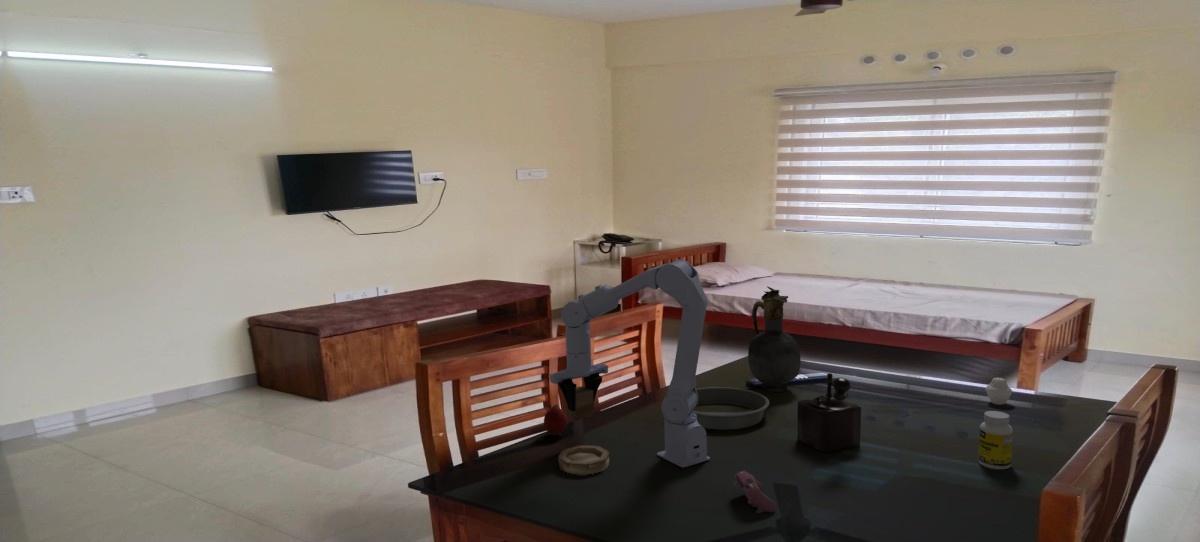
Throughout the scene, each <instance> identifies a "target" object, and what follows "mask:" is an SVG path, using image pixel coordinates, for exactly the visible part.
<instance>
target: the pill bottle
mask: <svg viewBox="0 0 1200 542" xmlns="http://www.w3.org/2000/svg"><path fill="white" fill-rule="evenodd" d="M983 415H984V416H983V420H984V421H983V422H981V424H980V425H979V438H978V462H979V464H980V465H981V466H983V467H985V468H988V469H991V470H999V471H1000V470H1006V469H1009V468H1011V467H1012V461H1013V460H1012V457H1013V440H1014V439H1013V438H1014V436H1013V435H1014V429H1013V427H1012V426H1011V425H1010V424H1009V423H1010V415H1009V414H1008V413H1006V412H1003V411H999V410H998V411H997V410H987V411H985V412H984V414H983Z"/></svg>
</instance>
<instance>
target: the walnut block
mask: <svg viewBox="0 0 1200 542" xmlns="http://www.w3.org/2000/svg"><path fill="white" fill-rule="evenodd" d="M594 405H595V401H594V402H593V390H591V389H589V388H587V387H585V385H584V386H583V385H581V386H576V391H575V411H571V410H569V409H568V406H567V405H566V406H567V407H566V408H567V415H568V416H570V417H572V418H574V419H576V420H579V419H582V418H587V417H588V418H589V417H592V416H595V407H594Z"/></svg>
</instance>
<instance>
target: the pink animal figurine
mask: <svg viewBox="0 0 1200 542" xmlns="http://www.w3.org/2000/svg"><path fill="white" fill-rule="evenodd" d="M734 479H735V480H734V485H735V487H737V488H738V487H740V488H741V490H742V491H743V493H744V494H745V497H746V499H747V503H748V504H749V505H751V506H752V508H753V507H754V508H755V507H757V508H758V509H760V510H762V511H764V512H767V513H772V512H773V511H774V512H775V510H776V509H777V507H776V506H777V505H776V503H775V502H774V501H773V500H772V499H771V498H769V497H768V495H766V494H765V493H763V492H762V491H763V486H762V484H761V483H760V482H759V481H758V480H757V479H756V478H755V477H754V475H752V474H751V473H750V472H748V471H746V469H744V470H743V471H739V472H737V473H736V474H734Z"/></svg>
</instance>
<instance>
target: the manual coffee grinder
mask: <svg viewBox="0 0 1200 542" xmlns="http://www.w3.org/2000/svg"><path fill="white" fill-rule="evenodd" d="M833 377H834V376H833V374H832V373H831V372H828V373H827V375H826V380H825V383H827V391H826V394H821V395H818V396H816V397H814V398H809V399H804V400H802V399H801V400H798V401H797V438H796V439H797V440H798V441H799V440H800V442H801V441H802V443H803V442H804V443H803V444H805V445H807V446H809V447H810V448H813V447H814V448H813V449H816V450H817V451H820V452H824V453H833V452H834V453H836V452H839V451H840V450H841V451H844V450H849V448H850V449H853V447H854V448H857V447H859V445H860V446H861V430H862V429H861V428H862V427H861V426H862V423H861V421H862V407H861V406H859V405H856V404H855V403H852V402H849V401H846V399H848V398H849V394H848V392H849V390H851V386H852V384H851V382H850V380H849V379H847V378H844V377H837V378H834V379H833ZM832 387H833V389H834V393H832ZM856 446H857V447H856ZM835 451H836V452H835ZM841 451H840V452H841Z"/></svg>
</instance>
